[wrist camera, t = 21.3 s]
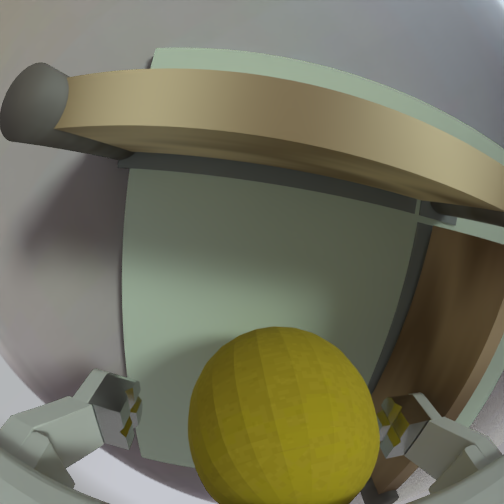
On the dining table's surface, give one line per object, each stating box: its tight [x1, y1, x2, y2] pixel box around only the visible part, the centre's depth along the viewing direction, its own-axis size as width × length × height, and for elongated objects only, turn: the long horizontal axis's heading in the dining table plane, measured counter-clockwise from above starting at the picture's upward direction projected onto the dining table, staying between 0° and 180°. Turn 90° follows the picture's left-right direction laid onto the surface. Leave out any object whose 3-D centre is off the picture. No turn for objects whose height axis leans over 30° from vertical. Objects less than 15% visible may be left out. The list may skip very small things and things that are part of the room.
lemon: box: [188, 326, 380, 504], centre depth 7 cm, size 6×6×8 cm
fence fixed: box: [0, 63, 504, 227], centre depth 7 cm, size 15×2×6 cm, turn 82°
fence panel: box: [360, 225, 504, 504], centre depth 9 cm, size 13×2×5 cm, turn 169°
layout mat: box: [118, 48, 504, 468], centre depth 12 cm, size 26×22×1 cm
